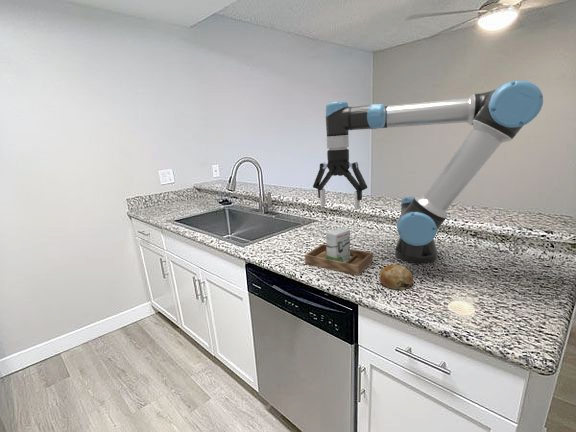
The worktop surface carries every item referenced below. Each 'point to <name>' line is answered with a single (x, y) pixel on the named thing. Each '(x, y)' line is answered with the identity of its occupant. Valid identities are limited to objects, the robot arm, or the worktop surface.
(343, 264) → the tray
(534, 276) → the worktop surface
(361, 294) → the worktop surface
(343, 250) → the ink box
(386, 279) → the bread roll
